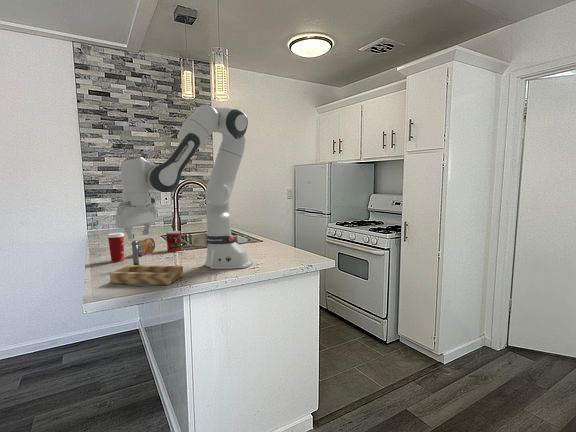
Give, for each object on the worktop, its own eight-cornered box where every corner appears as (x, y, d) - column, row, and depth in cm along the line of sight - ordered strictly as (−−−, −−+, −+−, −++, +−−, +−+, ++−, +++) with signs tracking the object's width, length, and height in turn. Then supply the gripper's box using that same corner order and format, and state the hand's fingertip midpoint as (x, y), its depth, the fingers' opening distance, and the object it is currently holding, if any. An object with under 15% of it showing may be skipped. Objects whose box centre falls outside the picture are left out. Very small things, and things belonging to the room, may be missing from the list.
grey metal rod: (142, 266, 152) (140, 239, 150) (137, 268, 148) (135, 241, 147) (135, 266, 152) (133, 239, 151) (130, 268, 149) (128, 241, 147)
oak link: (183, 275, 134) (182, 266, 134) (168, 284, 122) (167, 274, 122) (129, 274, 137) (128, 265, 137) (110, 283, 125) (109, 273, 125)
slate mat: (177, 274, 137) (177, 273, 137) (156, 287, 121) (156, 286, 121) (142, 273, 139) (142, 273, 139) (117, 285, 123) (117, 284, 123)
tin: (138, 257, 171) (137, 241, 170) (133, 257, 172) (132, 241, 171) (156, 251, 186) (155, 236, 185) (151, 251, 186) (150, 236, 185)
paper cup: (128, 260, 163) (126, 233, 162) (111, 263, 158) (109, 235, 157) (123, 258, 169) (121, 231, 168) (107, 261, 164) (105, 233, 162)
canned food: (169, 252, 181) (168, 233, 180) (165, 250, 188) (164, 231, 186) (183, 250, 186) (182, 231, 184) (179, 248, 192) (178, 230, 191)
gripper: (126, 202, 111) (129, 242, 112) (158, 198, 131) (160, 232, 133) (109, 202, 112) (112, 242, 113) (144, 199, 132) (146, 232, 134)
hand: (139, 236), depth 123 cm, fingers open, 8 cm apart
